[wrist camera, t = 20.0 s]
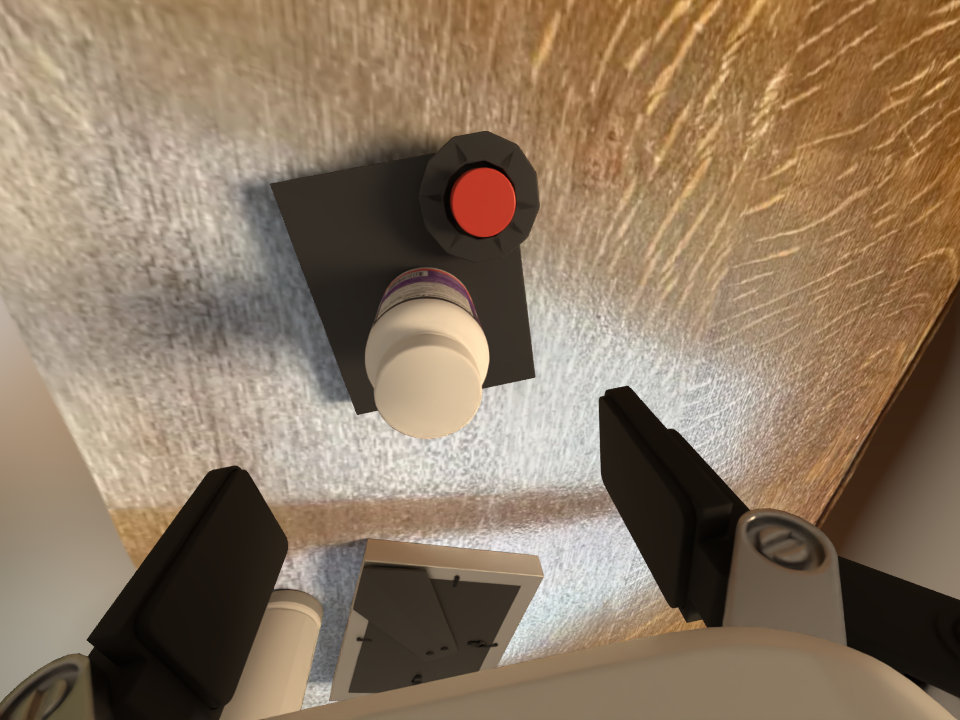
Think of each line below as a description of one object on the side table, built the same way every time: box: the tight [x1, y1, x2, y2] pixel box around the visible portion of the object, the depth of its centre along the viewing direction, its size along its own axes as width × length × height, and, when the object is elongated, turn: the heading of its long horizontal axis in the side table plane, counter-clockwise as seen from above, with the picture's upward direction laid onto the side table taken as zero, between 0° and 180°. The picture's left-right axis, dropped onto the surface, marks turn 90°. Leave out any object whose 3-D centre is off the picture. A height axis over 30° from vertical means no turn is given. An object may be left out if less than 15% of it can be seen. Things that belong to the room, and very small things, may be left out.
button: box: [450, 168, 516, 237], centre depth 19 cm, size 3×3×2 cm
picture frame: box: [329, 539, 544, 701], centre depth 38 cm, size 16×3×21 cm
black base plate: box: [270, 131, 540, 415], centre depth 23 cm, size 14×13×4 cm
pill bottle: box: [365, 267, 489, 439], centre depth 19 cm, size 5×5×10 cm
